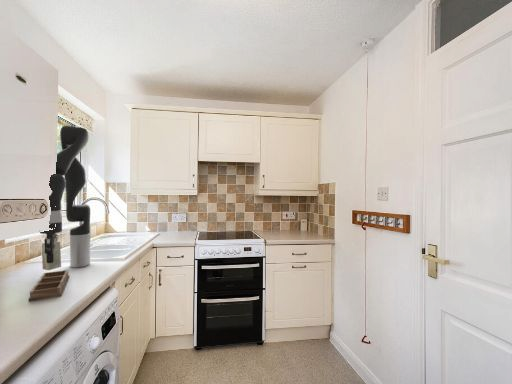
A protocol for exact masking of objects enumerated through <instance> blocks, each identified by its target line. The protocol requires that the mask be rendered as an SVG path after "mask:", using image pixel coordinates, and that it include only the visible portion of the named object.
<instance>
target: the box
mask: <svg viewBox="0 0 512 384" xmlns="http://www.w3.org/2000/svg"><path fill="white" fill-rule="evenodd" d="M48 250H51V248H48ZM61 252H62V251H61V241H58V240H57V241H56V246H55V248H54V253H53V257H54V261H53V263H47V255H46V254H45V242H42V243H41V256H42V257H41V259H42V262H41V263H42V264H41V265H42V270H44V271H45V270H46V271H51V270H55V269H59V268H61V267H62V254H61Z"/></svg>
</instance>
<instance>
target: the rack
mask: <svg viewBox="0 0 512 384" xmlns="http://www.w3.org/2000/svg"><path fill="white" fill-rule="evenodd" d="M69 279H70V275H69V270H68V269H66V270H59V271H58V270H57V271H50V272H43V274H42V275H41V276H40V278H39V279H38V281H37V282H36V283H35V284H34V286H33V287H32V288H31V290H30V291H29V297H28V302H36V301H40V300H47V299H52V298H60V297H62V295H63V293H64V291H65V288H67V287H66V286H67V284H68V281H69Z"/></svg>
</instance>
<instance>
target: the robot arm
mask: <svg viewBox="0 0 512 384" xmlns="http://www.w3.org/2000/svg"><path fill="white" fill-rule="evenodd" d="M59 133H60V134H59V137H60V138H59V139H60V144H61V150H60V151H59V152H57V153H56V154H57V162H56V174H53V175H51V177H50V181H49V182H50V183H49V186H50V188H51V190H52V191H51V193H50V195H48V196H49V200H50V207H51V215H50V221H49V224H50V225H49V228H51V229H52V228H53V230H49V231H44V232H40V231H39V234H43V235H45V234H46V236H45V237H44V239H43V242H44V243H45V254H46V255H47V263H53V261H54V257H53V253H54V248H55V246H56V241H57V242H58V233H62V232H63V215H62V198H63V196H64V192H65V195H66V197H65V198H66V199H65V206H66V207H65V208H66V209H65V210H66V212H65V215H66V220H67V221H68V222H69V223H77V222H81V224H80V225H79V226H75V227H73V228H71V229H69V230H70V231H69V255H70V257H69V258H70V259H69V261H70V263H69V264H70V265H69V266H70V268H82V267H87V266H89V265H91V228H90V227H91V226H90V225H91V207H90V205H89V204H74V202H75V200H76V198H77V196H78V194H79V193H80V192H81V191H82V189H83V188H84V187H85V184H86V183H87V180H86V179H87V178H86V177H87V176H86V169H85V167H84V165H83V164H82V163H81V161H80V160H79V159H78V157H77V156H79V154H80V153H81V152H82V151H83V149H84V148H85V147H86V146H87V144H88V142H89V131H88V130H87V129H86V128H85V127H78V126H71V125H62V126H61V128H60V131H59ZM55 206H56V207H55ZM55 224H56V227H55ZM54 228H55V229H54ZM48 248H51V250H48Z"/></svg>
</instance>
